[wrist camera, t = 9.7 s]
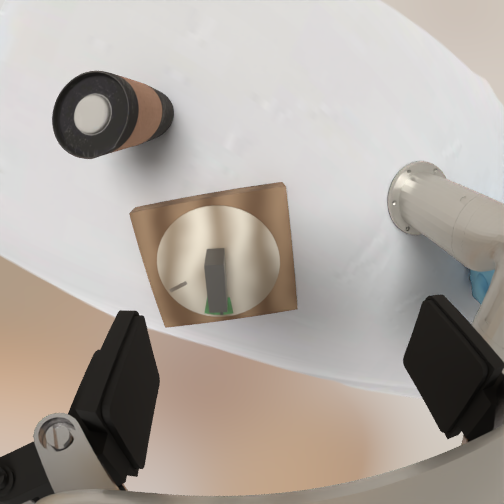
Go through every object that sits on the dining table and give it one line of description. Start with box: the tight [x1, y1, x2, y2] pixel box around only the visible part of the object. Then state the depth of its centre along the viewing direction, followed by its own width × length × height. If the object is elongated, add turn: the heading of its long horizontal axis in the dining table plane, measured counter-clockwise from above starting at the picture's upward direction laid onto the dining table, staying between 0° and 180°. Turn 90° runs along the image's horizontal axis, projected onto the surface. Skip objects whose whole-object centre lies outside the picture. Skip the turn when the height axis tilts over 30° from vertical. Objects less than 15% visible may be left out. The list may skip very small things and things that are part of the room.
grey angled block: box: [204, 248, 228, 315], centre depth 43 cm, size 12×2×6 cm, turn 1°
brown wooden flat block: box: [129, 182, 297, 328], centre depth 46 cm, size 22×20×4 cm
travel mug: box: [52, 71, 173, 159], centre depth 29 cm, size 8×8×20 cm
